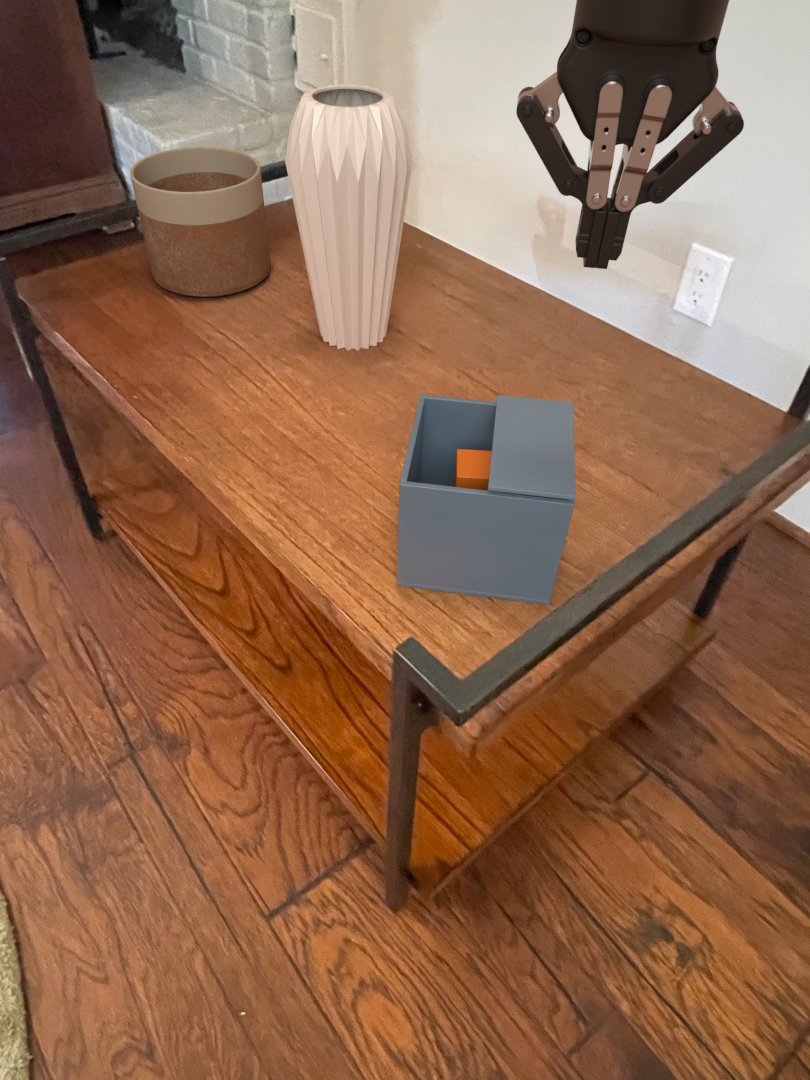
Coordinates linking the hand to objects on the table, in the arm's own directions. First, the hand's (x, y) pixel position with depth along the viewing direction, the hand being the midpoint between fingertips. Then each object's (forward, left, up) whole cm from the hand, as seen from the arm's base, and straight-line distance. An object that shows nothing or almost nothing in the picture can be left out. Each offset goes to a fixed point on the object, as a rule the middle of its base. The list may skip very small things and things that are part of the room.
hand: (595, 262), depth 48 cm
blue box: (+5, 0, -27) cm, 27 cm away
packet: (+5, 0, -26) cm, 27 cm away
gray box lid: (+2, 0, -15) cm, 15 cm away
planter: (+45, -46, -27) cm, 70 cm away
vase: (+23, -34, -27) cm, 49 cm away
